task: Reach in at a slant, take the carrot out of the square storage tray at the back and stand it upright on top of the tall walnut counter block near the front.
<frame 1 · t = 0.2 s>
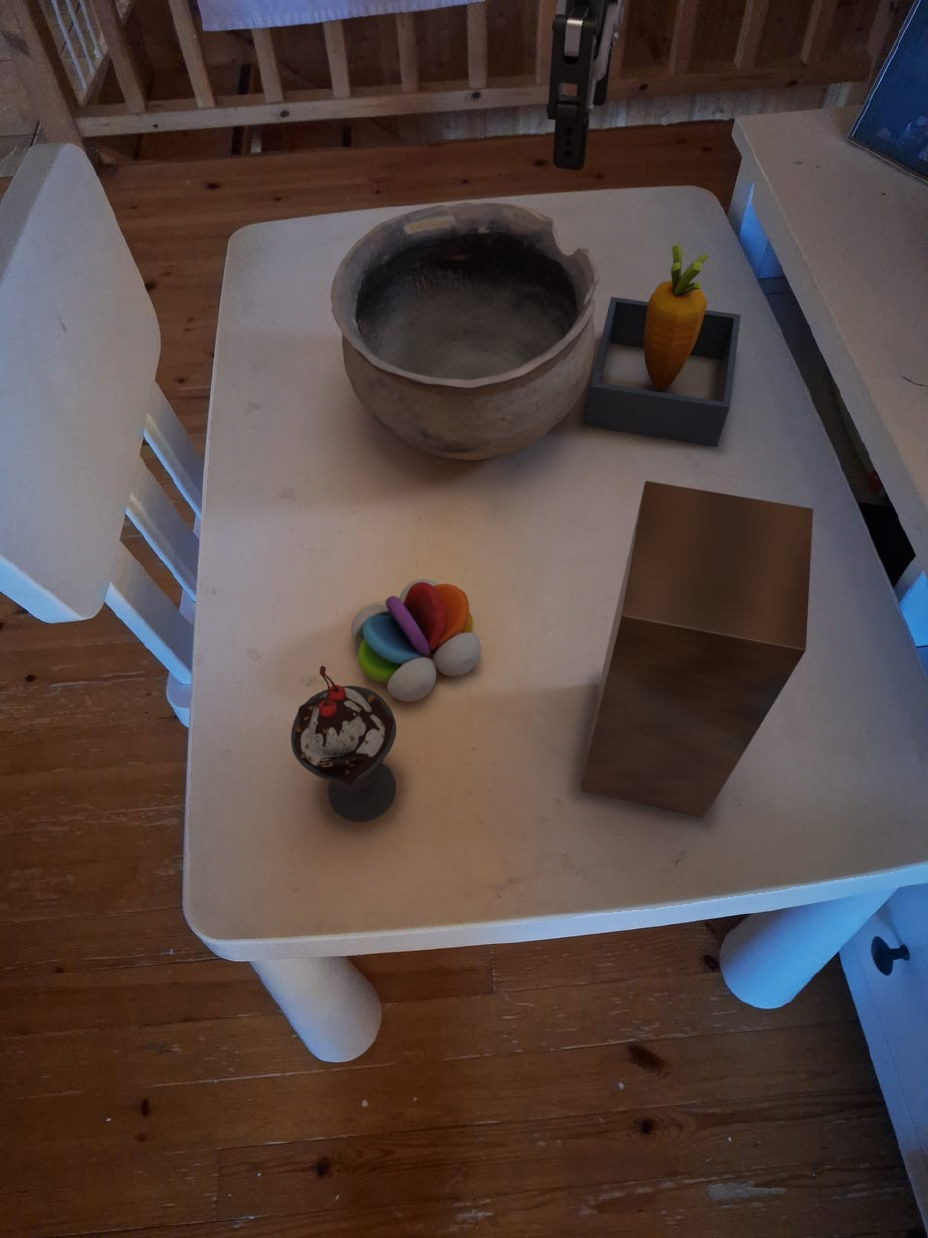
hand: (580, 133, 65), 25 cm above the table, tool pointing down, fingers open, 8 cm apart
ceramic bowl: (469, 415, 85), on the table
counter block: (650, 747, 67), on the table
rainbow cloud toy: (417, 653, 72), on the table
carrot: (658, 391, 86), resting in square storage tray
square storage tray: (658, 389, 86), on the table
sundae: (361, 790, 66), on the table
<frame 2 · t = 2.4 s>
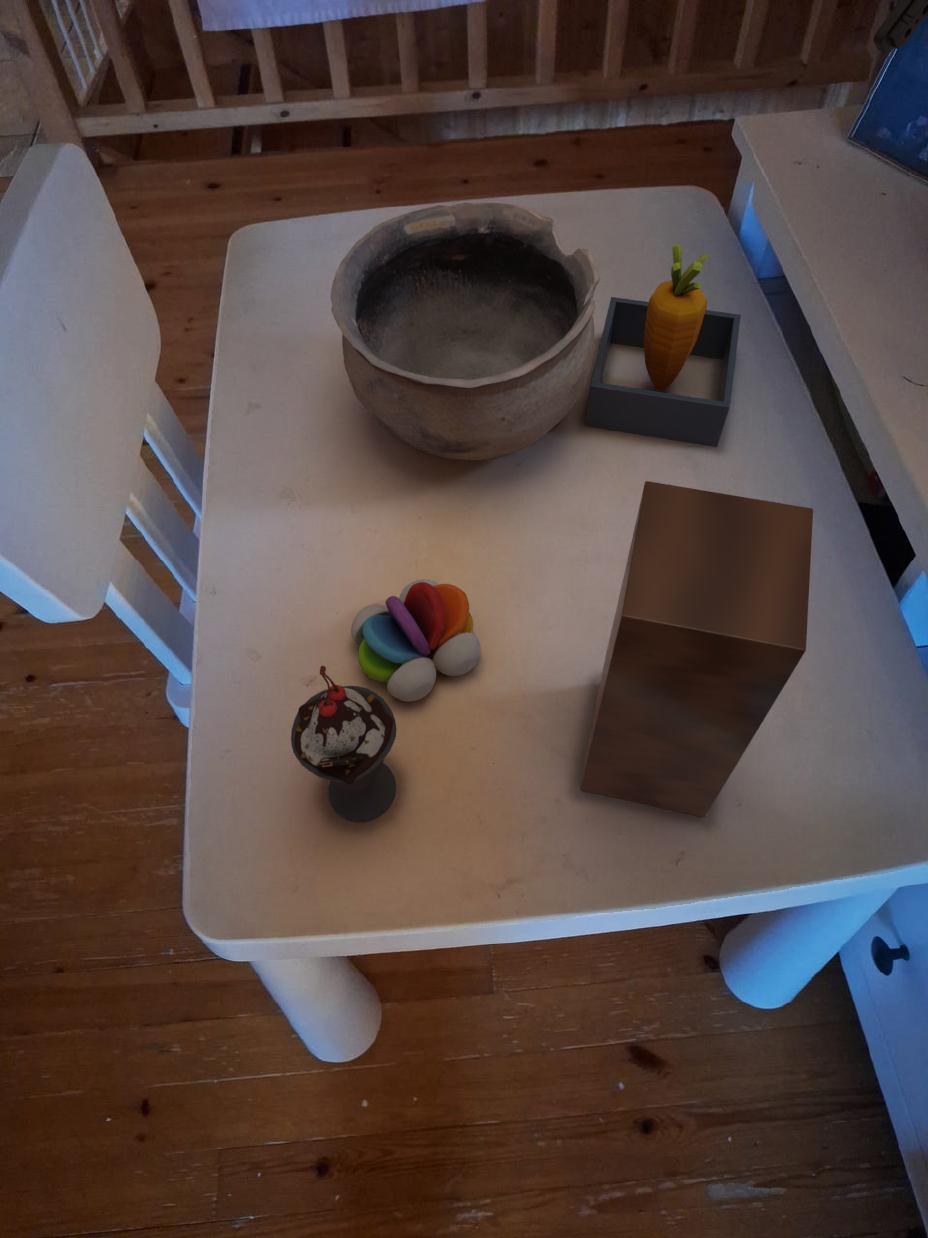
hand: (832, 20, 63), 30 cm above the table, tool tilted 45°, fingers open, 8 cm apart
nothing on the table moved.
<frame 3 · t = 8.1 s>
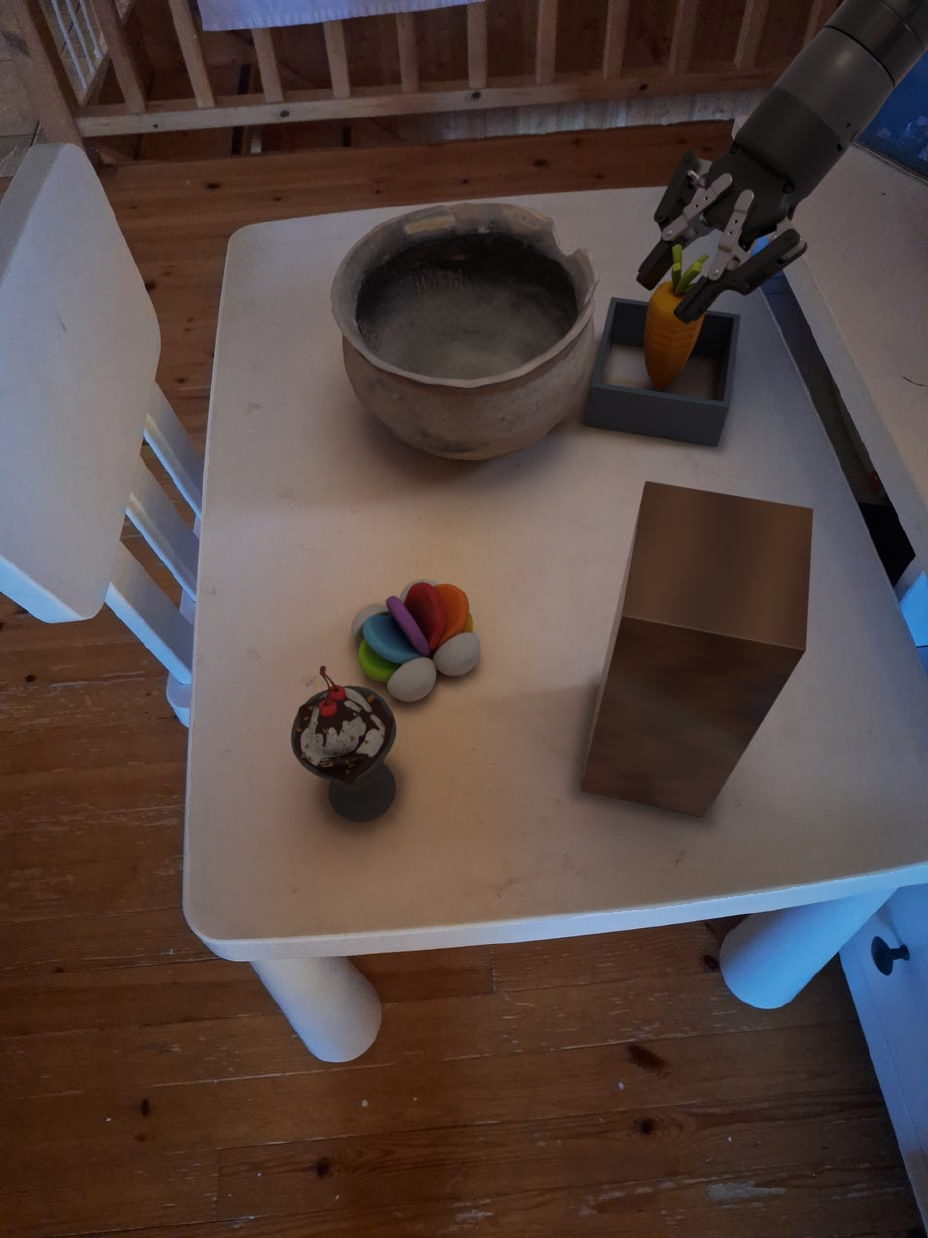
hand: (661, 301, 76), 11 cm above the table, tool tilted 45°, fingers closed on carrot, 4 cm apart
carrot: (658, 391, 86), resting in square storage tray, touching gripper
everything else where it was.
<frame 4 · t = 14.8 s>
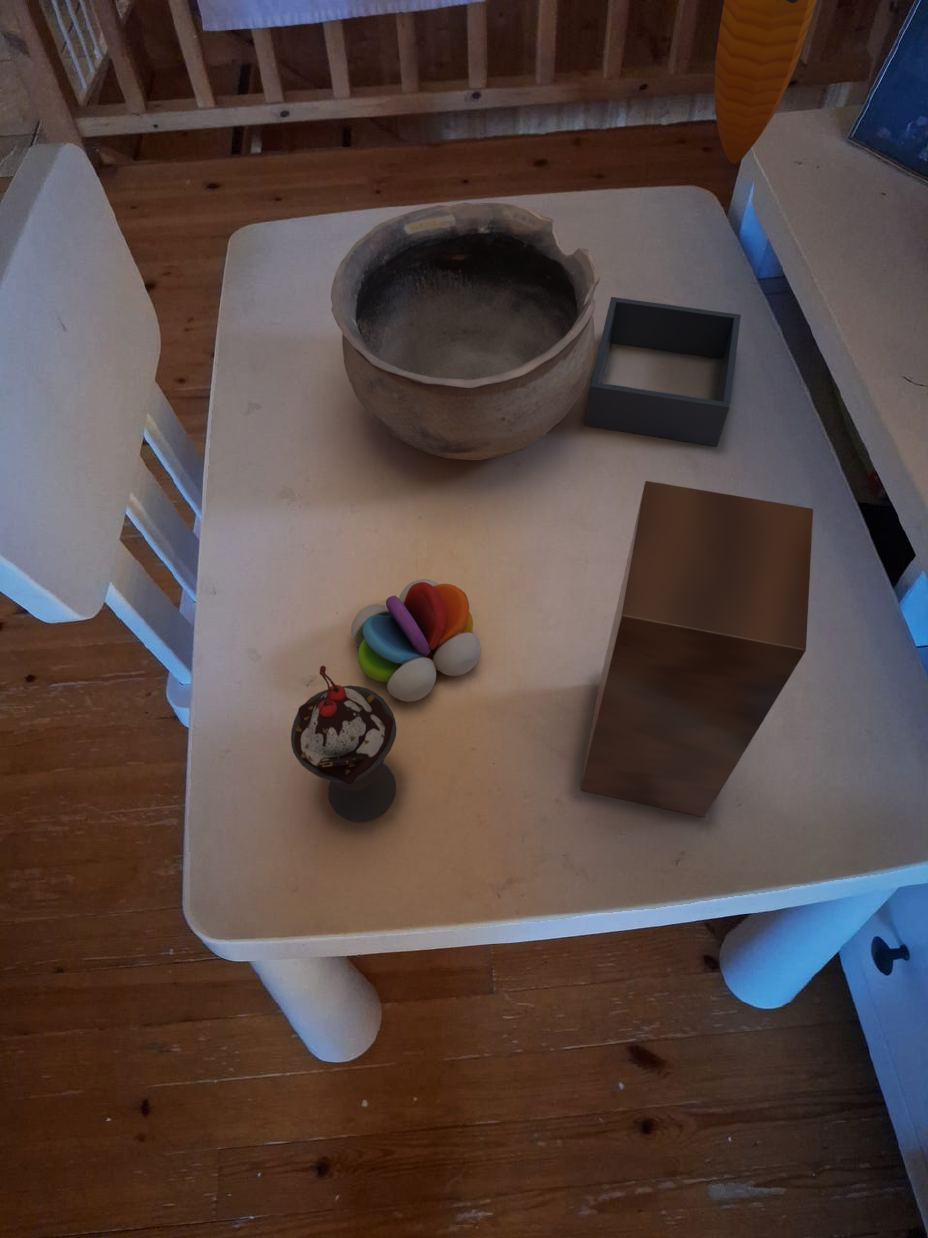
carrot: (732, 164, 58), point 28 cm above the table, touching gripper
everything else where it was.
when the fingers open (35 cm above the table, at t = 21.3 s): carrot stays where it is, resting on counter block.
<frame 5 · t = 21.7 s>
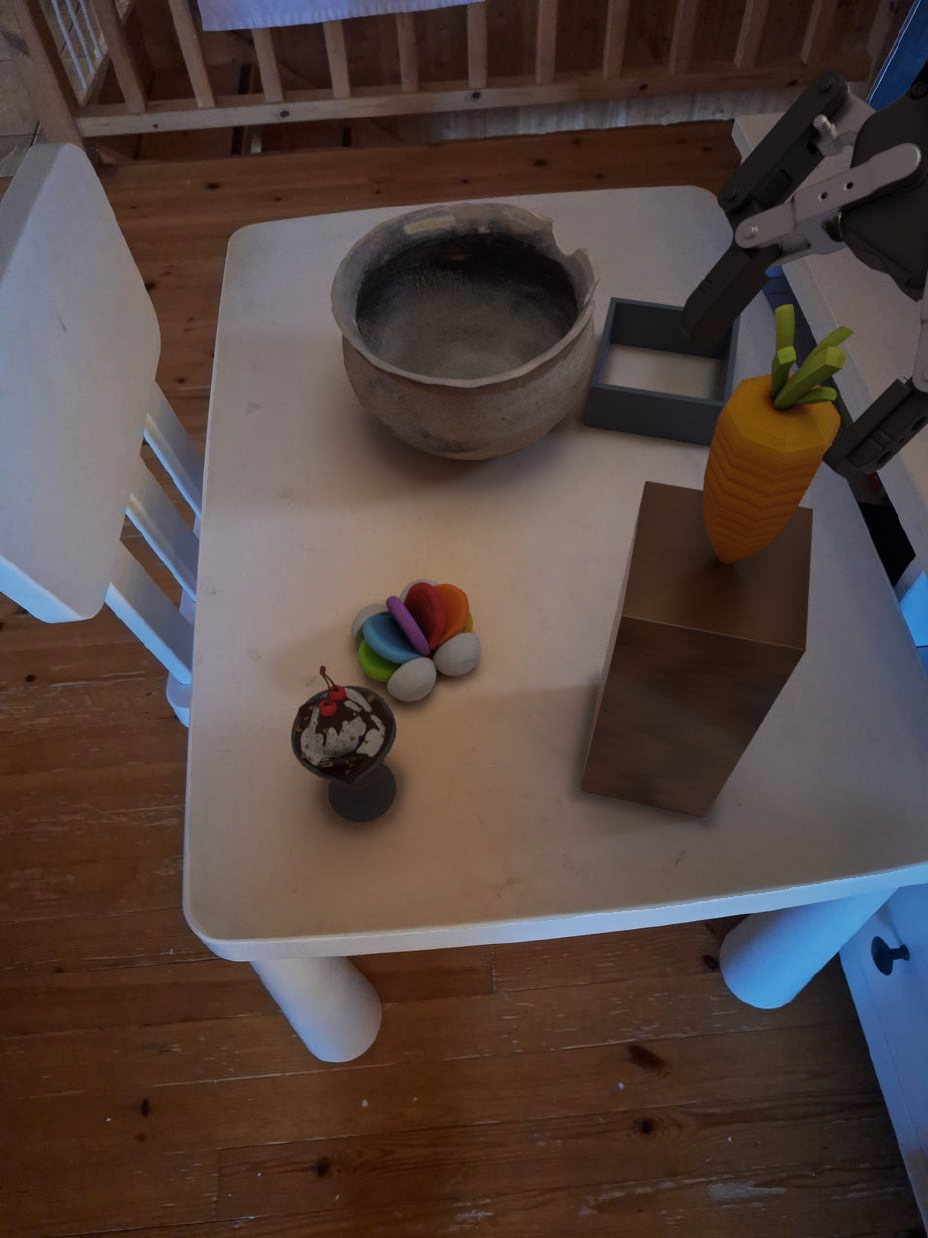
hand: (759, 401, 36), 36 cm above the table, tool tilted 45°, fingers open, 8 cm apart
carrot: (724, 562, 47), point 24 cm above the table, touching counter block
everything else where it was.
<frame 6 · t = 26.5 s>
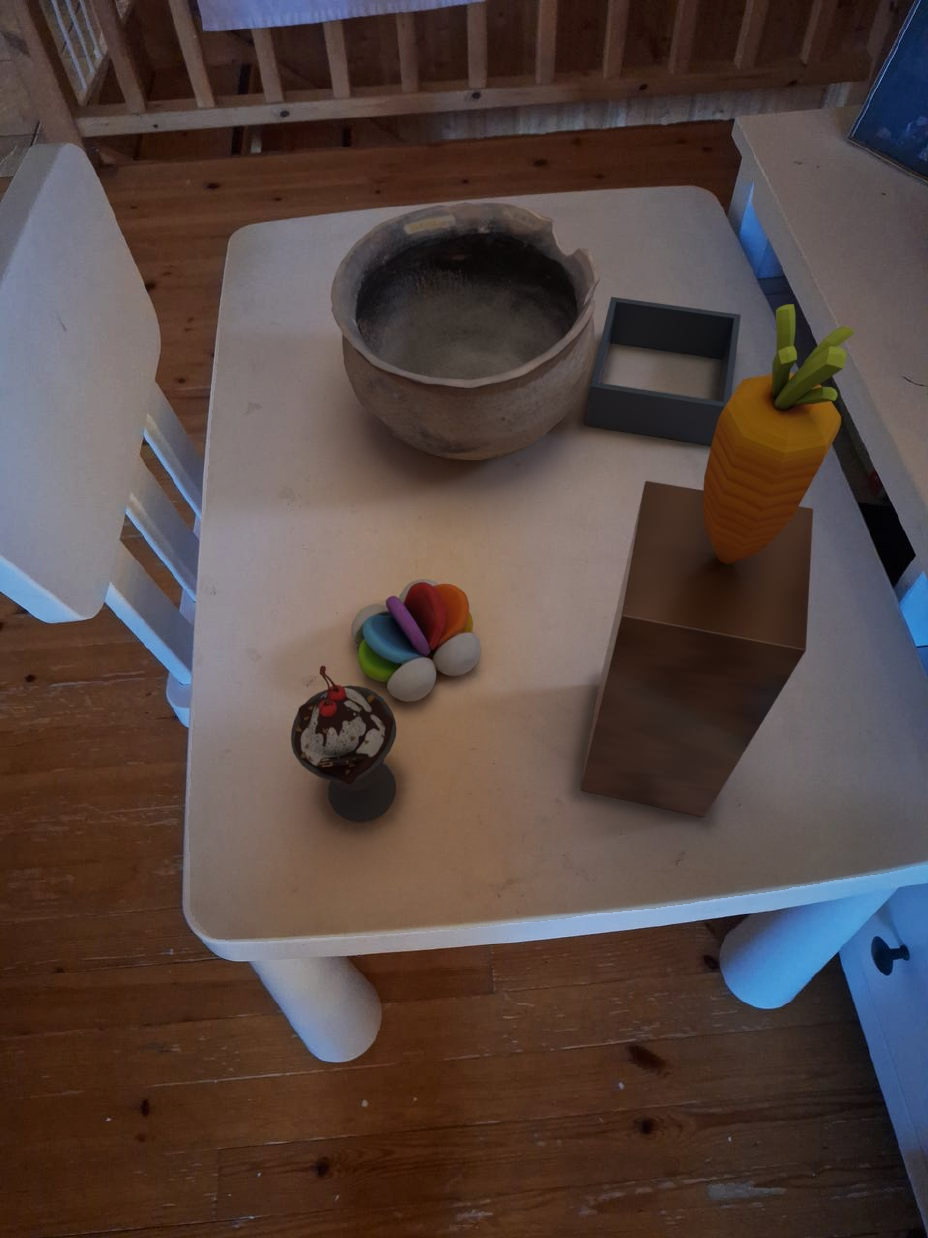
nothing on the table moved.
at the end: carrot 0.2 cm off-centre on the counter block, point 23.8 cm above the counter block's base; carrot tilted 0°; the gripper is holding nothing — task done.
